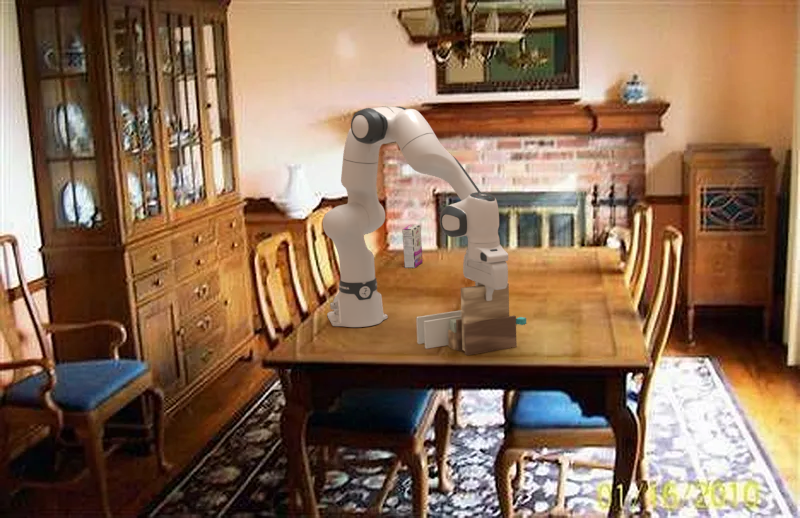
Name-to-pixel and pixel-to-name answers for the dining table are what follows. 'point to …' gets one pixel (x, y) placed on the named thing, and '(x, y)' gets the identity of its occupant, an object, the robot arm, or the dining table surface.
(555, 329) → the dining table surface
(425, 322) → the holder
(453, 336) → the offcut
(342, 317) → the robot arm
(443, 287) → the dining table surface
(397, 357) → the dining table surface
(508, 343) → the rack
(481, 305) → the sheet
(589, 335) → the dining table surface
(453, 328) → the offcut
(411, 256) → the candy bar box
